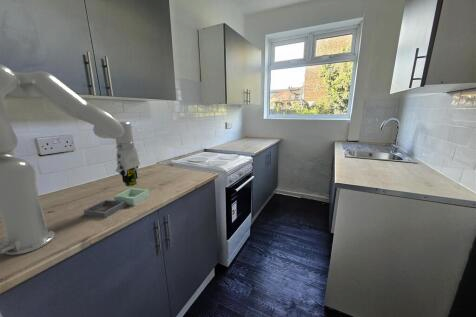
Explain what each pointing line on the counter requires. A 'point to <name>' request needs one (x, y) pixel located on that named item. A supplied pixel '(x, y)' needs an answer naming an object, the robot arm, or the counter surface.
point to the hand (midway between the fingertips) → (130, 180)
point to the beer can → (131, 177)
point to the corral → (117, 206)
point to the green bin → (132, 196)
